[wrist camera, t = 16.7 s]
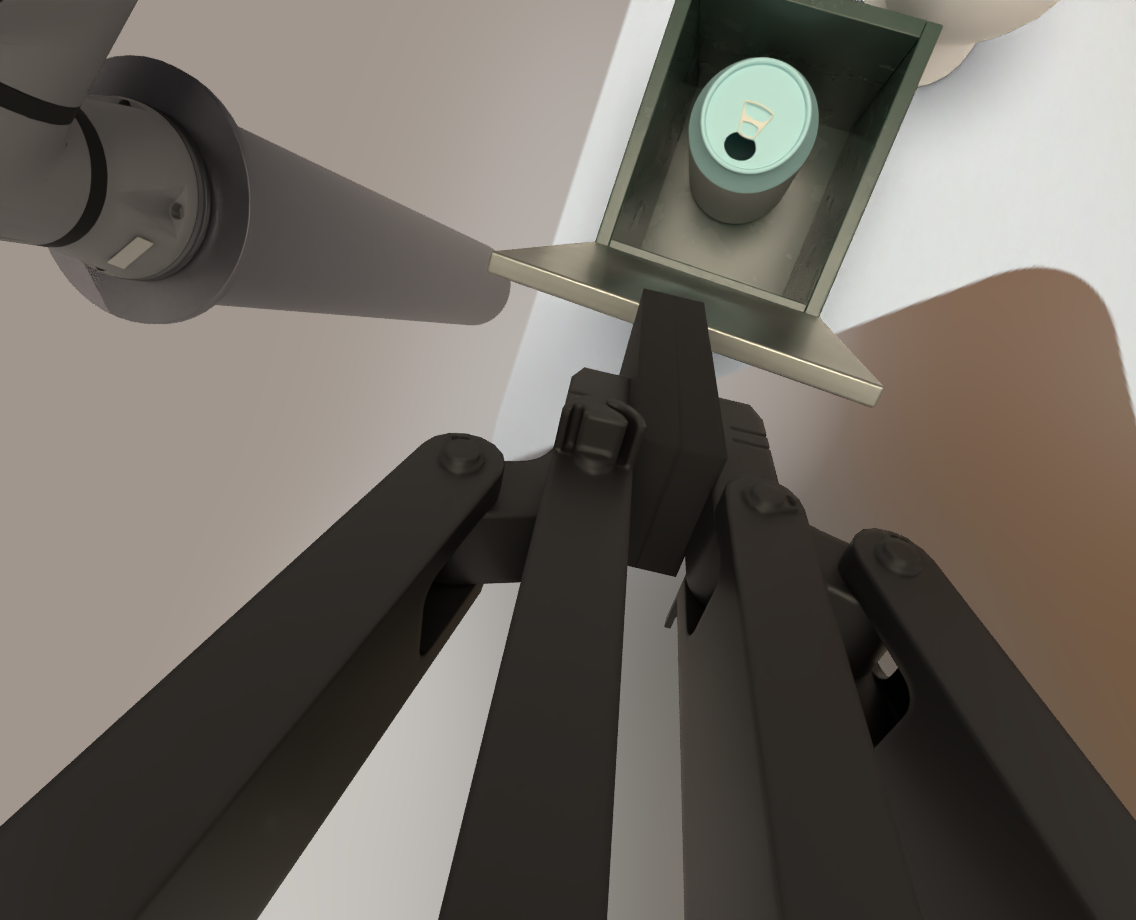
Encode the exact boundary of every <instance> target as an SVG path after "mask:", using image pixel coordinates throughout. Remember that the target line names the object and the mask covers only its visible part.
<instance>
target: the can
mask: <svg viewBox="0 0 1136 920" xmlns="http://www.w3.org/2000/svg"><path fill="white" fill-rule="evenodd" d="M818 123H819V113H818V105H817V101H816V97H815V94H814V92H813V90H812V88H811V86H810V84H809V83H808V81H807V80H806V78H805V77H804V76H803V75H802V74H801V73H800V72H799V71H798V70H797V69H795V68H794V67H792V66H791V65H789V64H787V63H785V62H783V61H780V60H777V59H774V58H768V57H756V58H749V59H745V60H741V61H738V62H736V63H734V64H732V65H730V66H728V67H726V68H725V69H723V70H722V71H720V72H719V73H718V74H716V75H715V76H714V77H713V78H712V79H711V80H710V81H709V82H708V83H707V85H706V86H705V87H704V88H703V90H702V91H701V93H700V94H699V96H698V98H697V100H696V102H695V104H694V107H693V110H692V113H691V117H690V122H689V181H690V187H691V191H692V194H693V196H694V199H695V200H696V202H697V204H698V205H699V206H700V208H701V209H702V210H703V211H704V212H705V213H706V214H708V215H709V216H710V217H712V218H714V219H716V220H718V221H721V222H724V223H730V224H741V223H747V222H751V221H754V220H756V219H759V218H761V217H762V216H764V215H766V214H767V213H768V212H770V211H771V210H772V209H773V208H774V207H775V206H776V205H777V204H778V203H779V202H780V200H781V199H782V197H783V196H784V194H785V193H786V191H787V189H788V188H789V186H790V185H791V183H792V181H793V180H794V178H795V176H796V175H797V173H798V172H799V170H800V168H801V167H802V165H803V164H804V162H805V160H806V159H807V157H808V155H809V154H810V152H811V150H812V148H813V145H814V142H815V139H816V136H817V131H818Z"/></svg>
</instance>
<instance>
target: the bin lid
mask: <svg viewBox="0 0 1136 920" xmlns="http://www.w3.org/2000/svg"><path fill="white" fill-rule="evenodd" d="M487 272H488V273H490V274H493V275H496V276H499V277H501V278H504V279H507V280H510V281H513V282H516V283H518V284H521V285H524V286H527V287H530V288H533V289H536V290H538V291H541V292H544V293H547V294H550V295H553V296H555V297H558V298H561V299H564V300H567V301H570V302H573V303H575V304H578V305H581V306H584V307H587V308H590V309H592V310H595V311H598V312H601V313H604V314H607V315H610V316H612V317H615V318H618V319H621V320H624V321H627V322H629V323H632V324H634V321H635V317H636V314H637V310H638V307H639V303H640V299H641V296H642V292H643V289H644V288H645V289H649V290H653V291H658V292H662V293H666V294H670V295H674V296H678V297H683V298H687V299H691V300H695V301H699V302H703V303H704V305H705V312H706V318H707V325H708V331H709V338H710V344H711V351H712V352H715V353H718V354H721V355H723V356H726V357H729V358H732V359H735V360H738V361H740V362H743V363H746V364H749V365H752V366H755V367H758V368H761V369H763V370H766V371H769V372H772V373H775V374H777V375H780V376H783V377H786V378H789V379H792V380H795V381H798V382H800V383H803V384H806V385H809V386H812V387H814V388H817V389H820V390H823V391H826V392H829V393H832V394H834V395H837V396H840V397H843V398H846V399H849V400H851V401H855V402H857V403H860V404H863V405H866V406H869V407H875V406H876V404H877V402H878V400H879V398H880V396H881V394H882V392H883V391H884V387H883V386H882V384H881V383H879V381H878V380H877V379H876V378H875V377H874V376H873V375H872V374H871V373H870V372H869V371H868V369H867V368H866V367H865V366H864V365H863V364H862V363H861V362H860V361H859V360H858V359H857V358H856V357H855V356H854V354H853V353H852V352H851V351H850V350H849V349H848V348H847V347H846V346H845V345H844V344H843V343H842V341H841V340H840V339H839V338H838V337H837V336H836V335H835V334H834V333H833V332H832V331H831V330H830V329H829V327H828V326H827V325H826V324H825V323H824V322H823V321H822V320H821V319H820V318H819V317H816V316H813V315H810V314H807V313H804V312H802V311H799V310H796V309H793V308H790V307H787V306H784V305H781V304H778V303H775V302H772V301H769V300H766V299H763V298H760V297H757V296H754V295H751V294H748V293H745V292H742V291H739V290H736V289H733V288H730V287H727V286H725V285H722V284H719V283H716V282H713V281H710V280H707V279H704V278H701V277H698V276H695V275H692V274H689V273H686V272H683V271H680V270H677V269H674V268H671V267H668V266H665V265H662V264H659V263H656V262H653V261H650V260H648V259H645V258H642V257H639V256H636V255H633V254H630V253H627V252H624V251H621V250H618V249H615V248H612V247H609V246H606V245H603V244H600V243H597V242H585V243H575V244H564V245H554V246H544V247H533V248H523V249H512V250H502V251H492V253H491V256H490V260H489V264H488V269H487Z"/></svg>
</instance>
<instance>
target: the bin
mask: <svg viewBox="0 0 1136 920" xmlns="http://www.w3.org/2000/svg"><path fill="white" fill-rule="evenodd" d="M942 28H943V25H941V24H937V23H934V22H930V21H927V20H924V19H920V18H917V17H913V16H910V15H906V14H902V13H899V12H895V11H891V10H888V9H884V8H881V7H877V6H873V5H870V4H866V3H862V2H859V1H855V0H675V3H674V6H673V9H672V12H671V15H670V18H669V21H668V24H667V27H666V30H665V33H664V36H663V39H662V42H661V45H660V48H659V51H658V54H657V57H656V60H655V63H654V66H653V69H652V72H651V75H650V78H649V81H648V84H647V87H646V90H645V93H644V96H643V99H642V102H641V105H640V108H639V111H638V114H637V117H636V120H635V123H634V126H633V129H632V132H631V135H630V138H629V141H628V144H627V147H626V150H625V153H624V156H623V159H622V162H621V165H620V168H619V171H618V174H617V177H616V181H615V184H614V187H613V190H612V193H611V196H610V199H609V202H608V205H607V208H606V211H605V214H604V217H603V220H602V223H601V226H600V229H599V232H598V235H597V238H596V241H595V242H597V243H600V244H603V245H606V246H609V247H612V248H615V249H618V250H621V251H624V252H627V253H630V254H633V255H636V256H639V257H642V258H645V259H648V260H650V261H653V262H656V263H659V264H662V265H665V266H668V267H671V268H674V269H677V270H680V271H683V272H686V273H689V274H692V275H695V276H698V277H701V278H704V279H707V280H710V281H713V282H716V283H719V284H722V285H725V286H727V287H730V288H733V289H736V290H739V291H742V292H745V293H748V294H751V295H754V296H757V297H760V298H763V299H766V300H769V301H772V302H775V303H778V304H781V305H784V306H787V307H790V308H793V309H796V310H799V311H802V312H804V313H807V314H810V315H813V316H816V317H819V315H820V313H821V311H822V308H823V306H824V304H825V301H826V299H827V297H828V294H829V292H830V290H831V287H832V285H833V283H834V280H835V278H836V276H837V273H838V271H839V269H840V266H841V264H842V262H843V259H844V257H845V255H846V252H847V250H848V248H849V245H850V243H851V241H852V238H853V236H854V234H855V231H856V229H857V227H858V224H859V222H860V220H861V217H862V215H863V213H864V210H865V208H866V206H867V203H868V201H869V199H870V196H871V194H872V192H873V189H874V187H875V185H876V182H877V180H878V178H879V175H880V173H881V171H882V168H883V166H884V164H885V161H886V159H887V157H888V154H889V152H890V150H891V147H892V145H893V143H894V140H895V138H896V136H897V133H898V131H899V129H900V126H901V124H902V122H903V119H904V117H905V115H906V112H907V110H908V108H909V105H910V103H911V101H912V98H913V96H914V94H915V91H916V89H917V87H918V84H919V82H920V80H921V77H922V75H923V73H924V70H925V68H926V66H927V63H928V61H929V59H930V56H931V54H932V52H933V49H934V47H935V45H936V42H937V40H938V38H939V35H940V33H941V31H942ZM756 57H768V58H774V59H777V60H780V61H783V62H785V63H787V64H789V65H791V66H792V67H794V68H795V69H797V70H798V71H799V72H800V73H801V74H802V75H803V76H804V77H805V78H806V80H807V81H808V83H809V84H810V86H811V88H812V90H813V92H814V94H815V97H816V101H817V105H818V113H819V123H818V131H817V136H816V139H815V142H814V145H813V148H812V150H811V152H810V154H809V155H808V157H807V159H806V160H805V162H804V164H803V165H802V167H801V168H800V170H799V172H798V173H797V175H796V176H795V178H794V180H793V181H792V183H791V185H790V186H789V188H788V189H787V191H786V193H785V194H784V196H783V197H782V199H781V200H780V202H779V203H778V204H777V205H776V206H775V207H774V208H773V209H772V210H771V211H770V212H768V213H767V214H766V215H764V216H762V217H761V218H759V219H756V220H754V221H751V222H747V223H741V224H730V223H724V222H721V221H718V220H716V219H714V218H712V217H710V216H709V215H708V214H706V213H705V212H704V211H703V210H702V209H701V208H700V206H699V205H698V204H697V202H696V200H695V199H694V196H693V194H692V191H691V187H690V181H689V122H690V117H691V113H692V110H693V107H694V104H695V102H696V100H697V98H698V96H699V94H700V93H701V91H702V90H703V88H704V87H705V86H706V85H707V83H708V82H709V81H710V80H711V79H712V78H713V77H714V76H715V75H716V74H718V73H719V72H720V71H722V70H723V69H725V68H726V67H728V66H730V65H732V64H734V63H736V62H738V61H741V60H745V59H749V58H756Z"/></svg>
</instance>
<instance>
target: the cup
mask: <svg viewBox="0 0 1136 920" xmlns="http://www.w3.org/2000/svg"><path fill="white" fill-rule="evenodd" d="M1058 1H1060V0H865V2H864V3H866V4H870V5H873V6H877V7H881V8H884V9H888V10H891V11H895V12H899V13H902V14H906V15H910V16H913V17H917V18H920V19H924V20H927V21H930V22H934V23H937V24H941V25H943V28H942V31H941V33H940V35H939V38H938V40H937V42H936V45H935V47H934V49H933V52H932V54H931V56H930V59H929V61H928V63H927V66H926V68H925V70H924V73H923V75H922V77H921V80H920V82H919V84H918V87H919V86H923V85H928V84H931V83H933V82H935V81H937V80H939V79H941V78H943V77H945V76H947V75H948V74H949V73H950V72H952V71H953V70H954V69H955V68H956V67H958V66H959V65H960V64H961V63H962V61H963V60H964V59H965V58H966V56H967V55H968V54H969V52H970V51H971V50H972V48H973V47H974V45H975V44H976V43H977V42H981V41H985V40H989V39H992V38H995V37H998V36H1001V35H1003V34H1006V33H1009V32H1011V31H1013V30H1015V29H1017V28H1019V27H1021V26H1023V25H1025V24H1027V23H1029V22H1031V21H1033V20H1035V19H1037V18H1039V17H1040V16H1041V15H1043V14H1044V13H1045V12H1046V11H1047V10H1049V9H1050V8H1051V7H1052V6H1053V5H1055V4H1056V3H1057V2H1058Z"/></svg>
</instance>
